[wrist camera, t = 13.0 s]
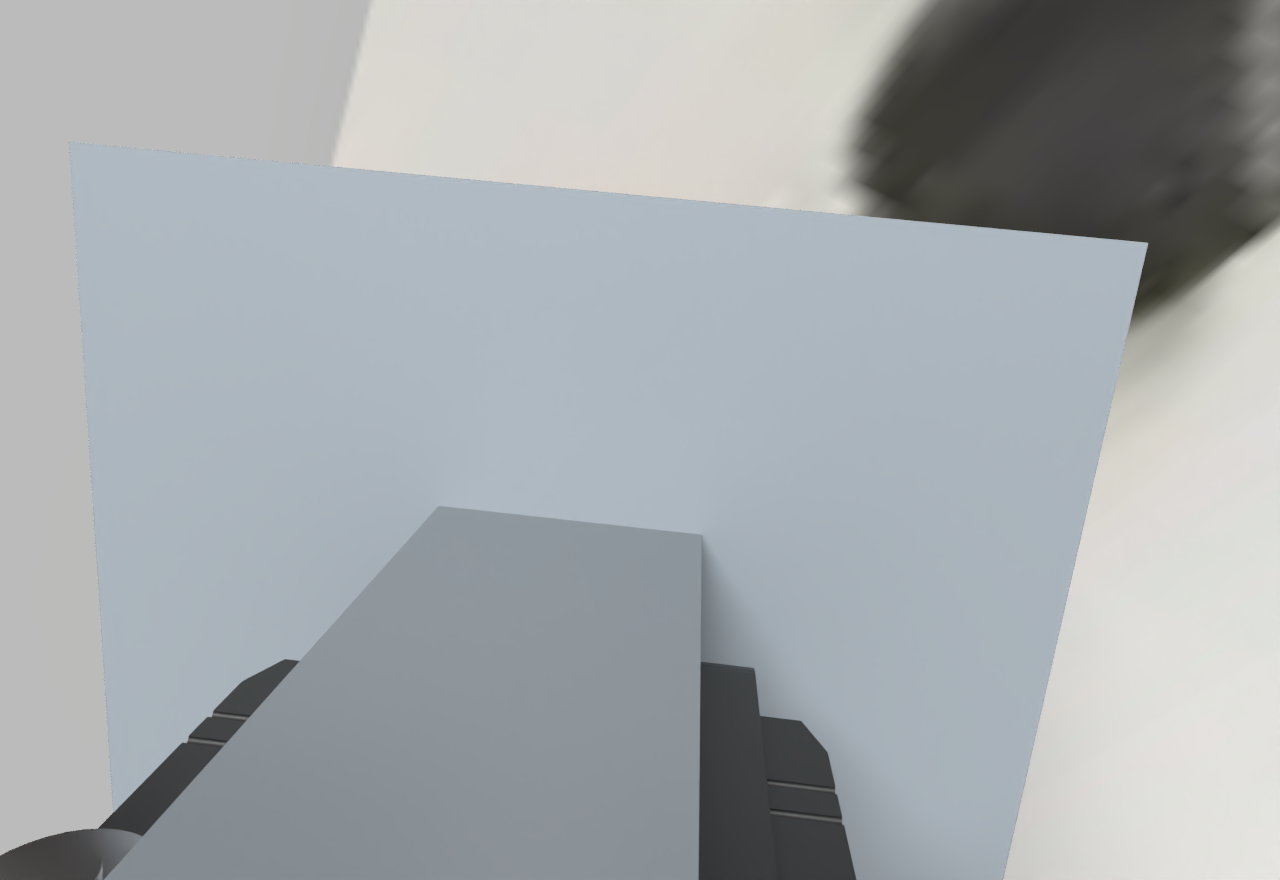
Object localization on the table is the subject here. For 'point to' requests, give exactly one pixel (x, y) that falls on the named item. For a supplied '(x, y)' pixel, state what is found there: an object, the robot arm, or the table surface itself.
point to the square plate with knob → (571, 510)
